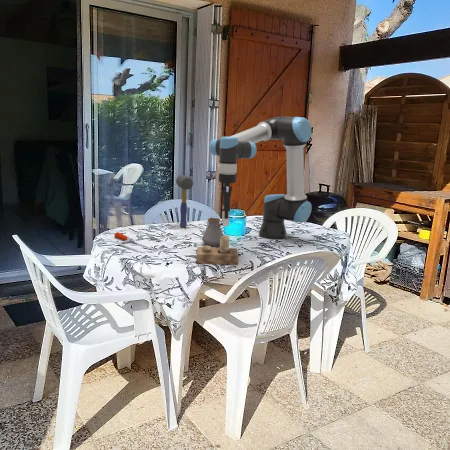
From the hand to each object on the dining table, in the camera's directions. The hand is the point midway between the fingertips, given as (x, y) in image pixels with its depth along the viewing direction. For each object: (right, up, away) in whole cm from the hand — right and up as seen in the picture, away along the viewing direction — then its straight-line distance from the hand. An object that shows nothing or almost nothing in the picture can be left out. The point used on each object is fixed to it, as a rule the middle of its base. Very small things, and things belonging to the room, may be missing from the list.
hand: (225, 222), depth 202 cm
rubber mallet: (-24, -3, +63) cm, 67 cm away
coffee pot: (-4, -12, +25) cm, 28 cm away
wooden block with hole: (-4, -17, +4) cm, 17 cm away
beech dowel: (-1, -17, +4) cm, 17 cm away
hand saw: (-46, -11, +22) cm, 52 cm away
